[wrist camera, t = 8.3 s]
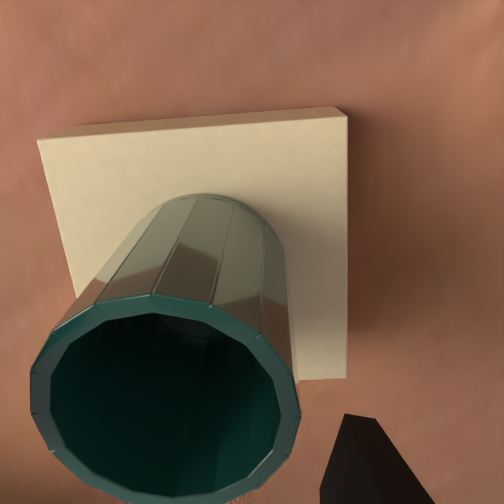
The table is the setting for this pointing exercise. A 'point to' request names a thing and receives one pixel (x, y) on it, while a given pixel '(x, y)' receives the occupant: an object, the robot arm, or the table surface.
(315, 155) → the block
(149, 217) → the cup
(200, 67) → the table surface
